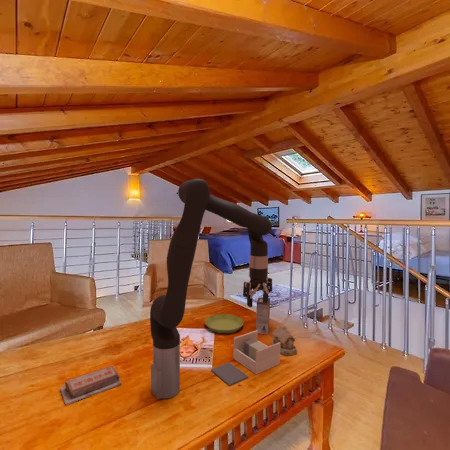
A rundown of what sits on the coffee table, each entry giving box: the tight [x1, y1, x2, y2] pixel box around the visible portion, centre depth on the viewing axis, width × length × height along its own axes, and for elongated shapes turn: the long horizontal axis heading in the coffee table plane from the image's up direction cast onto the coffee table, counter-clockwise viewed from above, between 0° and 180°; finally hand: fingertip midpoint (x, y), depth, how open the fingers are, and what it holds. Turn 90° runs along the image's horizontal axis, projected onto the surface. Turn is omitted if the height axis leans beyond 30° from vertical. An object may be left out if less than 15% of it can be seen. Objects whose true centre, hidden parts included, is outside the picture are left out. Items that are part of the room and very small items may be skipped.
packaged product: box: [59, 365, 122, 406], centre depth 103 cm, size 18×5×10 cm
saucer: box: [204, 313, 244, 334], centre depth 155 cm, size 21×21×3 cm
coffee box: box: [255, 297, 271, 335], centre depth 151 cm, size 9×6×16 cm
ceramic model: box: [270, 325, 298, 357], centre depth 133 cm, size 14×11×10 cm
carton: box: [233, 329, 281, 375], centre depth 121 cm, size 13×14×9 cm
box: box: [244, 339, 267, 361], centre depth 122 cm, size 5×10×7 cm, turn 36°
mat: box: [210, 361, 249, 387], centre depth 112 cm, size 9×12×1 cm
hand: (257, 304), depth 120 cm, fingers open, 8 cm apart
